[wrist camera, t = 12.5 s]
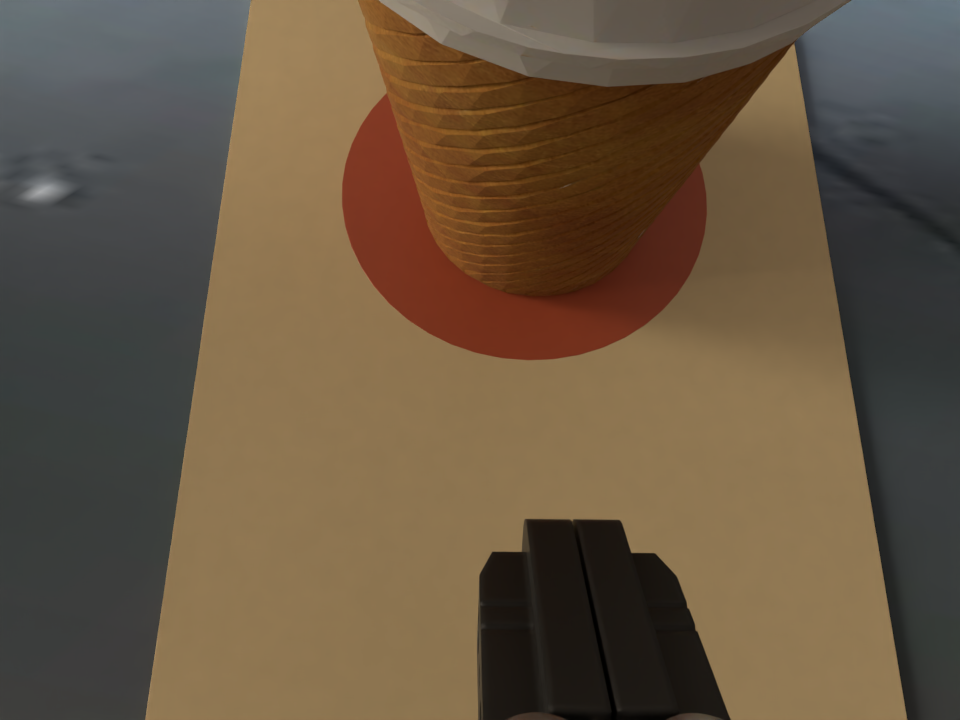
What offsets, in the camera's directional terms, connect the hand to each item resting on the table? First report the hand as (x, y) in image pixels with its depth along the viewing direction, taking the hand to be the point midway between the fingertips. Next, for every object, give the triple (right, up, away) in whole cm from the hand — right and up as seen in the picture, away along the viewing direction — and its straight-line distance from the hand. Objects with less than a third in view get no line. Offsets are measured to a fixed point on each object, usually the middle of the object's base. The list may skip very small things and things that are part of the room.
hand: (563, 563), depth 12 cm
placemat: (0, +8, +9) cm, 12 cm away
